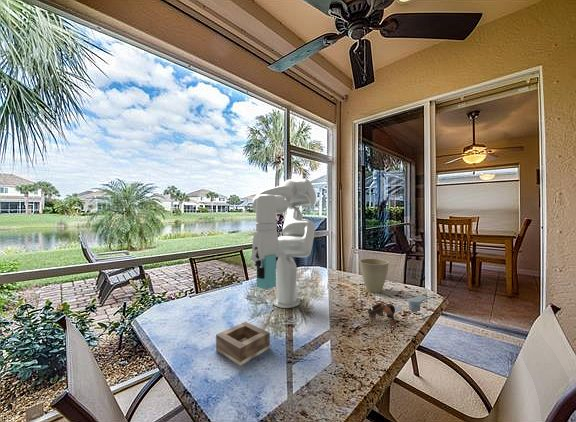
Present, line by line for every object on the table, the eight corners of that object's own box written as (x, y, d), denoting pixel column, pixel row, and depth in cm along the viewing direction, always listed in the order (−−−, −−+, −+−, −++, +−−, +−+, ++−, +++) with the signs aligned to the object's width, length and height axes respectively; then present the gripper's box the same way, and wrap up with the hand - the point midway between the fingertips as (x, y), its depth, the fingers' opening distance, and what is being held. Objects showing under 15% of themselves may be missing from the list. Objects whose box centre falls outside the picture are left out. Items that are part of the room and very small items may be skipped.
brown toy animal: (389, 332, 93) (377, 311, 95) (371, 333, 100) (360, 313, 102) (406, 315, 100) (394, 296, 102) (388, 318, 107) (377, 299, 109)
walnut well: (245, 335, 90) (245, 321, 90) (269, 348, 82) (269, 332, 82) (216, 350, 81) (216, 334, 81) (240, 365, 73) (240, 348, 73)
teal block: (266, 283, 99) (266, 252, 98) (275, 286, 95) (275, 254, 95) (256, 286, 95) (256, 254, 95) (266, 289, 91) (266, 256, 91)
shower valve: (439, 300, 110) (419, 307, 102) (439, 312, 110) (419, 321, 102) (411, 292, 120) (392, 298, 112) (411, 303, 120) (392, 310, 112)
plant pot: (364, 284, 148) (364, 257, 147) (391, 289, 139) (391, 260, 139) (355, 291, 136) (355, 262, 135) (384, 297, 127) (384, 265, 127)
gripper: (274, 226, 104) (274, 270, 104) (241, 228, 91) (241, 279, 91) (288, 227, 99) (288, 273, 99) (255, 229, 86) (255, 283, 86)
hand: (266, 276), depth 95 cm, fingers closed on teal block, 5 cm apart
